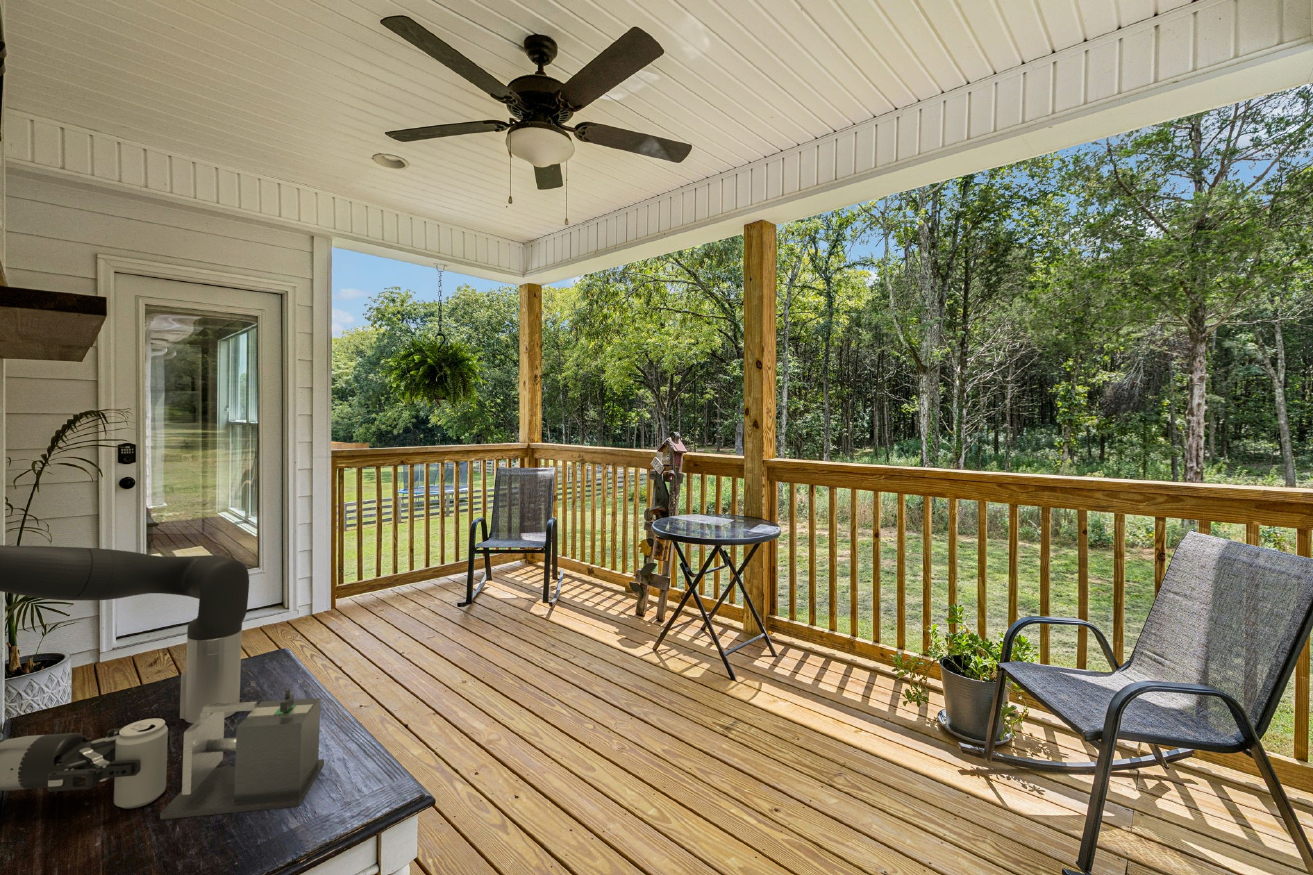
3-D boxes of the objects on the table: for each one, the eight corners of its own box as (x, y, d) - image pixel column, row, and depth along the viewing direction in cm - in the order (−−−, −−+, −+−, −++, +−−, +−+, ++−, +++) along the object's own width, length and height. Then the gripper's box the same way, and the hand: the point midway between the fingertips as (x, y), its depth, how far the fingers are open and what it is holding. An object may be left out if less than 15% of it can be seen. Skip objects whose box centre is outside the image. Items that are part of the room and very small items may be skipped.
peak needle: (280, 711, 98) (280, 693, 97) (287, 703, 100) (287, 685, 100) (286, 711, 98) (287, 692, 98) (293, 703, 101) (294, 684, 101)
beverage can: (134, 814, 91) (137, 738, 91) (102, 807, 92) (105, 733, 92) (175, 790, 97) (178, 719, 97) (145, 784, 98) (147, 714, 98)
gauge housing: (160, 819, 90) (162, 734, 90) (202, 774, 102) (204, 699, 102) (298, 806, 94) (301, 725, 94) (324, 764, 106) (326, 692, 106)
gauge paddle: (181, 794, 91) (184, 720, 91) (215, 759, 101) (217, 692, 101) (246, 789, 93) (248, 716, 93) (272, 755, 103) (274, 689, 103)
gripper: (-5, 763, 84) (127, 754, 88) (71, 715, 98) (181, 709, 102) (-6, 814, 84) (125, 802, 88) (69, 759, 98) (180, 751, 102)
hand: (155, 752), depth 95 cm, fingers open, 8 cm apart
